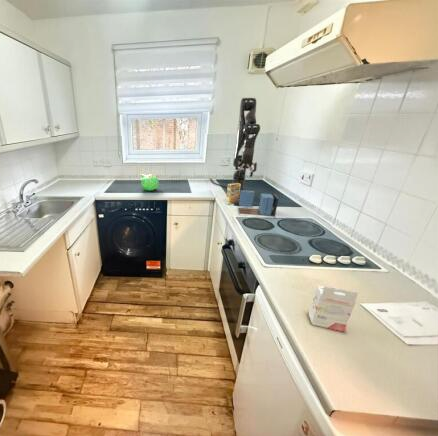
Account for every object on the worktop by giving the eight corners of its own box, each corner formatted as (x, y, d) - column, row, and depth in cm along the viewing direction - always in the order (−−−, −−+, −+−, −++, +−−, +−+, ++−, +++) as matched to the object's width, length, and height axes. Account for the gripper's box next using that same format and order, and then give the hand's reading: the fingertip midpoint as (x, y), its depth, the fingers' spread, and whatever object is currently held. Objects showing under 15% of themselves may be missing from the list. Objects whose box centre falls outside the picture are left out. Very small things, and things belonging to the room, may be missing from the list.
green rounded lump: (158, 192, 209) (159, 176, 204) (139, 192, 210) (139, 176, 204) (158, 187, 226) (158, 172, 220) (140, 187, 226) (140, 172, 221)
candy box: (228, 204, 179) (231, 185, 173) (225, 203, 183) (227, 183, 177) (238, 203, 181) (241, 184, 175) (234, 201, 185) (237, 182, 179)
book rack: (237, 208, 170) (240, 191, 165) (271, 211, 165) (274, 193, 160) (239, 215, 160) (242, 196, 155) (274, 218, 154) (279, 199, 149)
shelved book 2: (263, 210, 165) (266, 193, 160) (267, 210, 164) (271, 194, 159) (265, 215, 157) (268, 197, 152) (270, 215, 156) (274, 198, 151)
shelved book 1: (258, 209, 166) (261, 193, 161) (262, 210, 165) (265, 193, 160) (260, 214, 158) (263, 197, 153) (265, 214, 157) (268, 197, 152)
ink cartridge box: (338, 320, 76) (353, 283, 70) (344, 332, 72) (360, 293, 66) (307, 313, 79) (319, 276, 73) (311, 324, 75) (324, 286, 69)
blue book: (238, 205, 177) (240, 190, 172) (251, 206, 175) (254, 190, 170) (238, 207, 174) (241, 191, 170) (251, 208, 172) (254, 192, 167)
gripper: (259, 154, 168) (255, 176, 174) (239, 152, 176) (236, 174, 182) (257, 155, 163) (253, 178, 169) (236, 153, 170) (233, 176, 176)
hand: (244, 176), depth 175 cm, fingers open, 8 cm apart
